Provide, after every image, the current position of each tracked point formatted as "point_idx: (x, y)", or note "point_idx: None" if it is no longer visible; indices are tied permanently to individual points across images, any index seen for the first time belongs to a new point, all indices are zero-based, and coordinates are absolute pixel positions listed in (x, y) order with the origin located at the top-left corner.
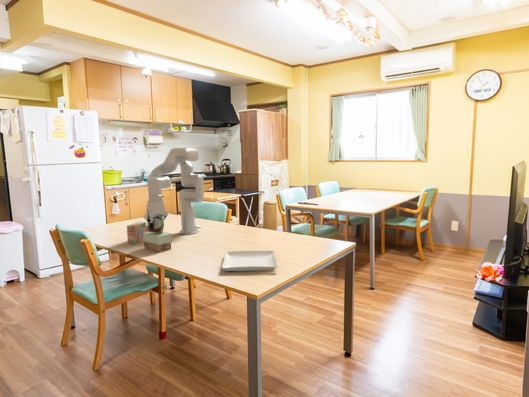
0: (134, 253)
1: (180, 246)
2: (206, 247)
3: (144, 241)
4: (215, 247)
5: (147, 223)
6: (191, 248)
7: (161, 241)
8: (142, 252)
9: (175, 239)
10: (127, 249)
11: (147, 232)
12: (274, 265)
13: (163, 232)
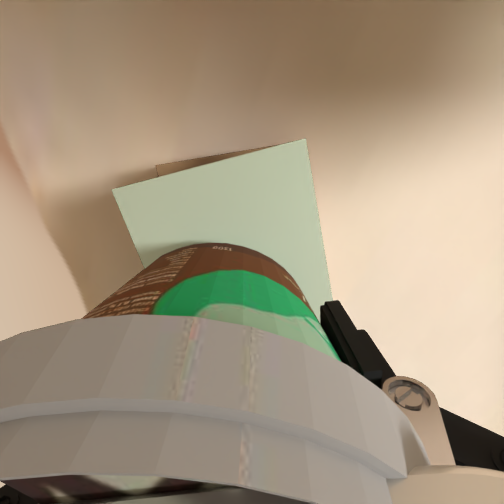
0: (81, 252)
1: (382, 289)
2: (464, 390)
3: (159, 171)
4: (491, 413)
5: (101, 307)
6: (399, 361)
7: None
8: (133, 263)
9: (493, 64)
10: (44, 109)
11: (166, 199)
12: None
13: (315, 314)
